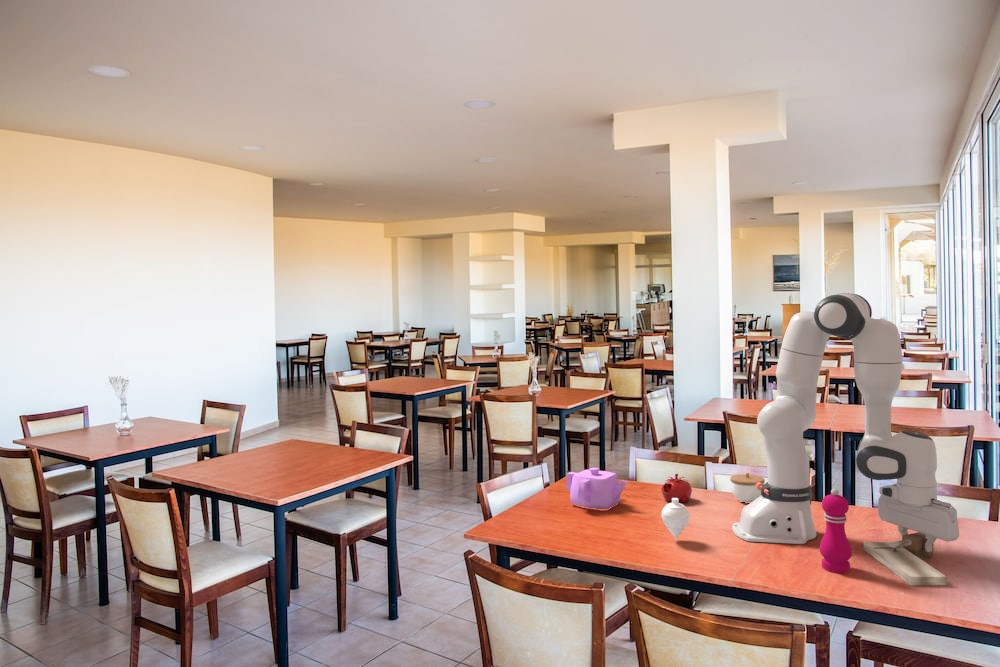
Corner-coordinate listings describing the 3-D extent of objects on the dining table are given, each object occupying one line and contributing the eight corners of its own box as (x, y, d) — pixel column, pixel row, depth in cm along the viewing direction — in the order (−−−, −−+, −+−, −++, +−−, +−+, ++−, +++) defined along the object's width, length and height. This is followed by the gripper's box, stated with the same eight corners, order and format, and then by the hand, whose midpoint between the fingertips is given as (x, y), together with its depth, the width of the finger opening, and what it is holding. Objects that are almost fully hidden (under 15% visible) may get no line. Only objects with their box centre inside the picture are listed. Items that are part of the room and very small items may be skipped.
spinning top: (690, 537, 193) (690, 495, 193) (689, 546, 186) (688, 503, 186) (663, 534, 196) (662, 493, 196) (660, 543, 189) (659, 501, 188)
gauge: (899, 563, 170) (899, 543, 170) (885, 558, 173) (885, 539, 173) (933, 556, 174) (933, 536, 174) (919, 550, 178) (919, 532, 177)
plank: (911, 585, 157) (910, 576, 157) (863, 549, 180) (863, 541, 180) (946, 585, 156) (946, 576, 156) (894, 549, 179) (894, 541, 179)
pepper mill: (813, 563, 171) (812, 485, 171) (841, 562, 172) (840, 484, 171) (830, 575, 164) (829, 493, 163) (858, 573, 165) (857, 491, 164)
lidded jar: (770, 505, 221) (769, 476, 220) (737, 506, 221) (736, 477, 221) (758, 496, 231) (757, 468, 231) (726, 496, 232) (726, 469, 231)
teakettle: (564, 499, 235) (563, 464, 234) (610, 495, 238) (609, 460, 237) (579, 514, 218) (578, 476, 217) (629, 509, 221) (628, 472, 221)
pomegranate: (691, 497, 233) (691, 470, 233) (692, 505, 224) (692, 477, 223) (661, 495, 236) (661, 469, 235) (661, 503, 226) (661, 476, 225)
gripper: (965, 503, 165) (965, 559, 166) (891, 483, 184) (891, 533, 185) (947, 506, 163) (947, 563, 164) (873, 486, 182) (874, 537, 183)
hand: (917, 547), depth 175 cm, fingers closed on gauge, 4 cm apart
